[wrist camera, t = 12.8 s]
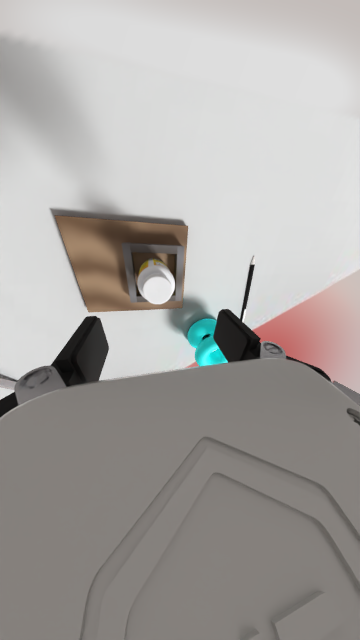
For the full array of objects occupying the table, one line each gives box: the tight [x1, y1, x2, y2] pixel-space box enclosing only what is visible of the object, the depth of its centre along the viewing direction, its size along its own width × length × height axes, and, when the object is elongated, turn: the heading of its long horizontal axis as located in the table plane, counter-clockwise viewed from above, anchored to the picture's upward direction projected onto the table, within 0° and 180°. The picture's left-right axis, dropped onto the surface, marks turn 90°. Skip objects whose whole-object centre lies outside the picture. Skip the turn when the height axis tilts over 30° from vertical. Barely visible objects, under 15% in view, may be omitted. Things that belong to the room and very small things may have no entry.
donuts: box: [188, 319, 228, 366], centre depth 35 cm, size 10×10×10 cm
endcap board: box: [55, 215, 188, 312], centre depth 25 cm, size 16×20×4 cm
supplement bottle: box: [137, 258, 175, 304], centre depth 22 cm, size 6×6×10 cm
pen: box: [240, 257, 255, 322], centre depth 35 cm, size 1×19×1 cm, turn 6°
